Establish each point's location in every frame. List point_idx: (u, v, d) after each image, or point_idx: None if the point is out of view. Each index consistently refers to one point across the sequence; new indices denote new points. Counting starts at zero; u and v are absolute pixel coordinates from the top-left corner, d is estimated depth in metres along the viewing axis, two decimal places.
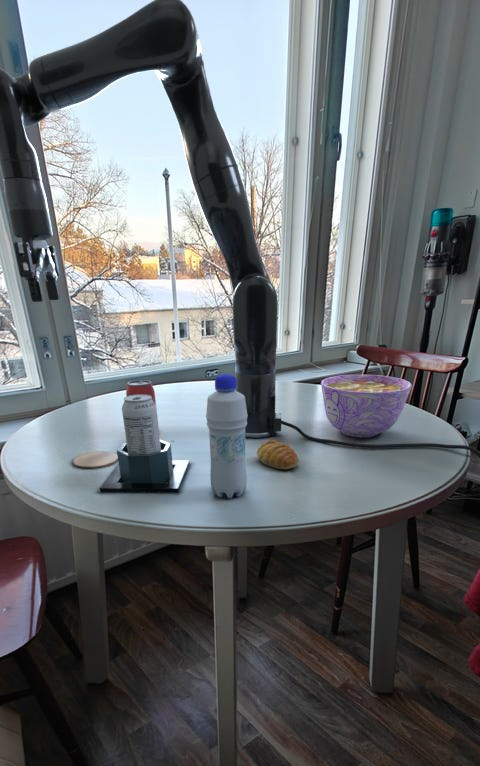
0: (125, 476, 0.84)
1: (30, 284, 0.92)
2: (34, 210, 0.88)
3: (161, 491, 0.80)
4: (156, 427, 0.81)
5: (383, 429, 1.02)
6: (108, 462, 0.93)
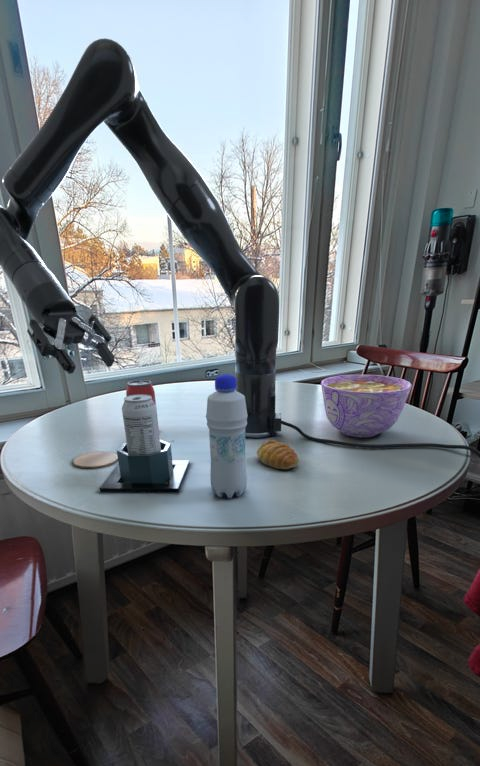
0: (125, 476, 0.84)
1: (57, 358, 0.81)
2: (34, 288, 0.81)
3: (161, 491, 0.80)
4: (156, 427, 0.81)
5: (383, 429, 1.02)
6: (108, 462, 0.93)
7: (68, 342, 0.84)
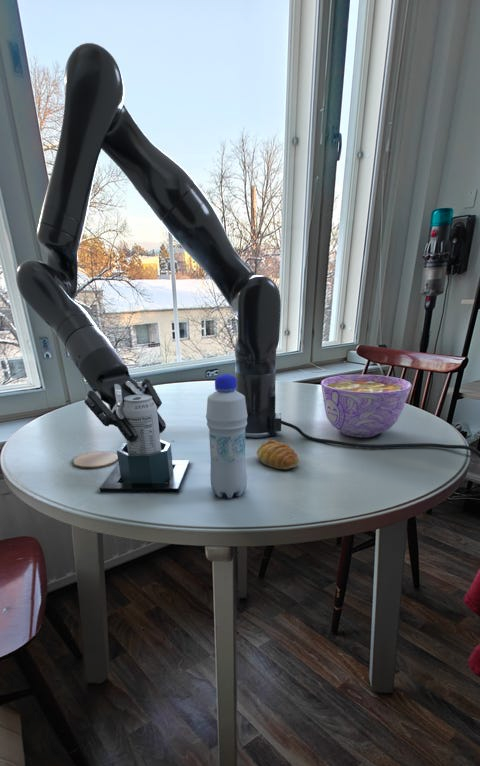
0: (125, 476, 0.84)
1: (119, 427, 0.79)
2: (89, 354, 0.79)
3: (161, 491, 0.80)
4: (156, 427, 0.81)
5: (383, 429, 1.02)
6: (108, 462, 0.93)
7: None
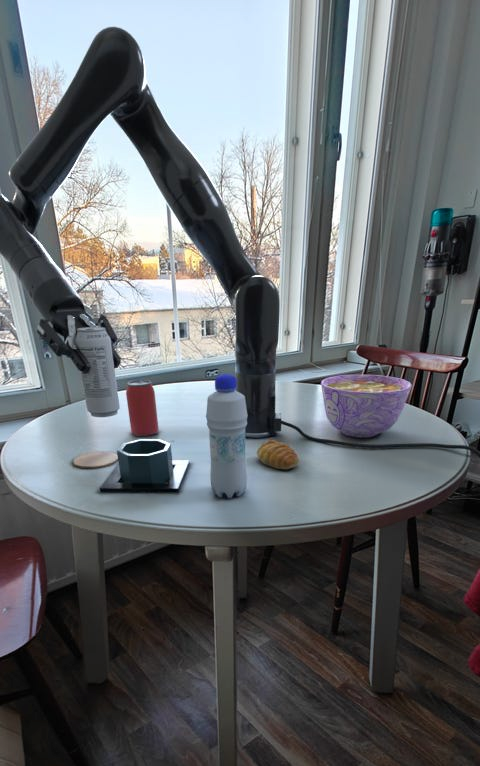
0: (125, 476, 0.84)
1: (72, 358, 0.79)
2: (42, 284, 0.79)
3: (161, 491, 0.80)
4: (110, 360, 0.81)
5: (383, 429, 1.02)
6: (108, 462, 0.93)
7: None
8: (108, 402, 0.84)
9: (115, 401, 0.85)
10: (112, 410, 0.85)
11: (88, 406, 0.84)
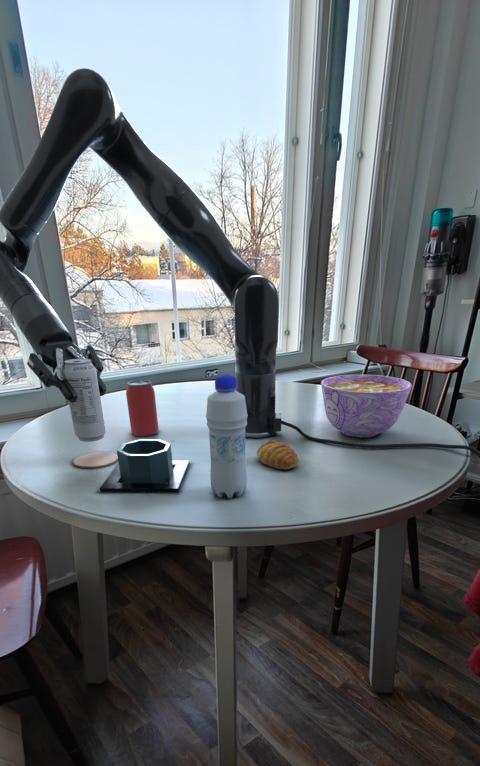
0: (125, 476, 0.84)
1: (60, 388, 0.85)
2: (32, 320, 0.85)
3: (161, 491, 0.80)
4: (96, 389, 0.87)
5: (383, 429, 1.02)
6: (108, 462, 0.93)
7: None
8: (94, 428, 0.90)
9: (101, 427, 0.91)
10: (98, 435, 0.91)
11: (75, 431, 0.90)
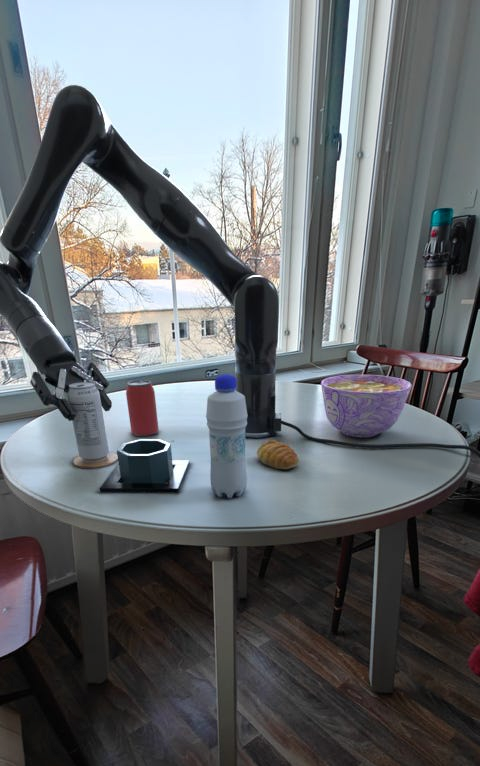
0: (125, 476, 0.84)
1: (58, 407, 0.86)
2: (36, 342, 0.87)
3: (161, 491, 0.80)
4: (99, 412, 0.90)
5: (383, 429, 1.02)
6: (108, 462, 0.93)
7: (68, 390, 0.89)
8: (98, 449, 0.92)
9: (104, 448, 0.93)
10: (102, 456, 0.93)
11: (79, 452, 0.92)
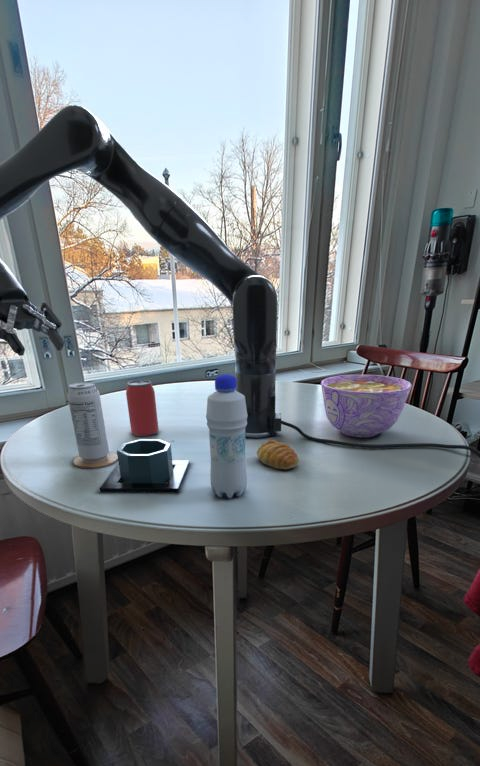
0: (125, 476, 0.84)
1: (8, 341, 0.88)
2: None
3: (161, 491, 0.80)
4: (99, 412, 0.90)
5: (383, 429, 1.02)
6: (108, 462, 0.93)
7: (20, 327, 0.91)
8: (98, 449, 0.92)
9: (104, 448, 0.93)
10: (102, 456, 0.93)
11: (79, 452, 0.92)
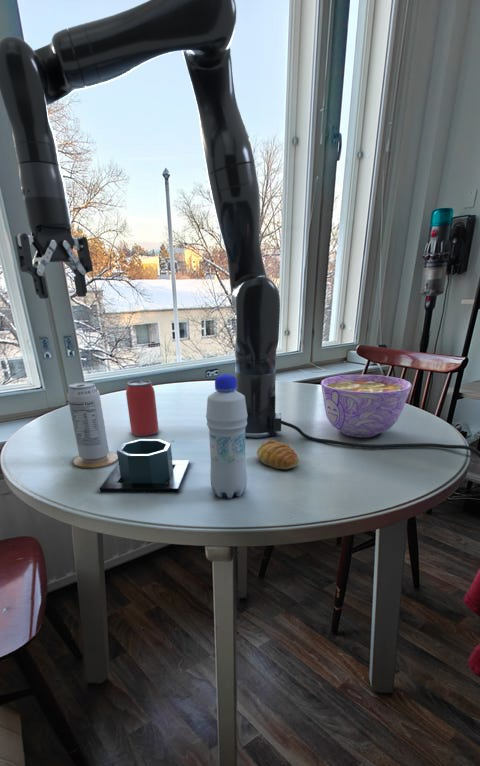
0: (125, 476, 0.84)
1: (34, 279, 0.86)
2: (38, 197, 0.80)
3: (161, 491, 0.80)
4: (99, 412, 0.90)
5: (383, 429, 1.02)
6: (108, 462, 0.93)
7: (50, 261, 0.87)
8: (98, 449, 0.92)
9: (104, 448, 0.93)
10: (102, 456, 0.93)
11: (79, 452, 0.92)
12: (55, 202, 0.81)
